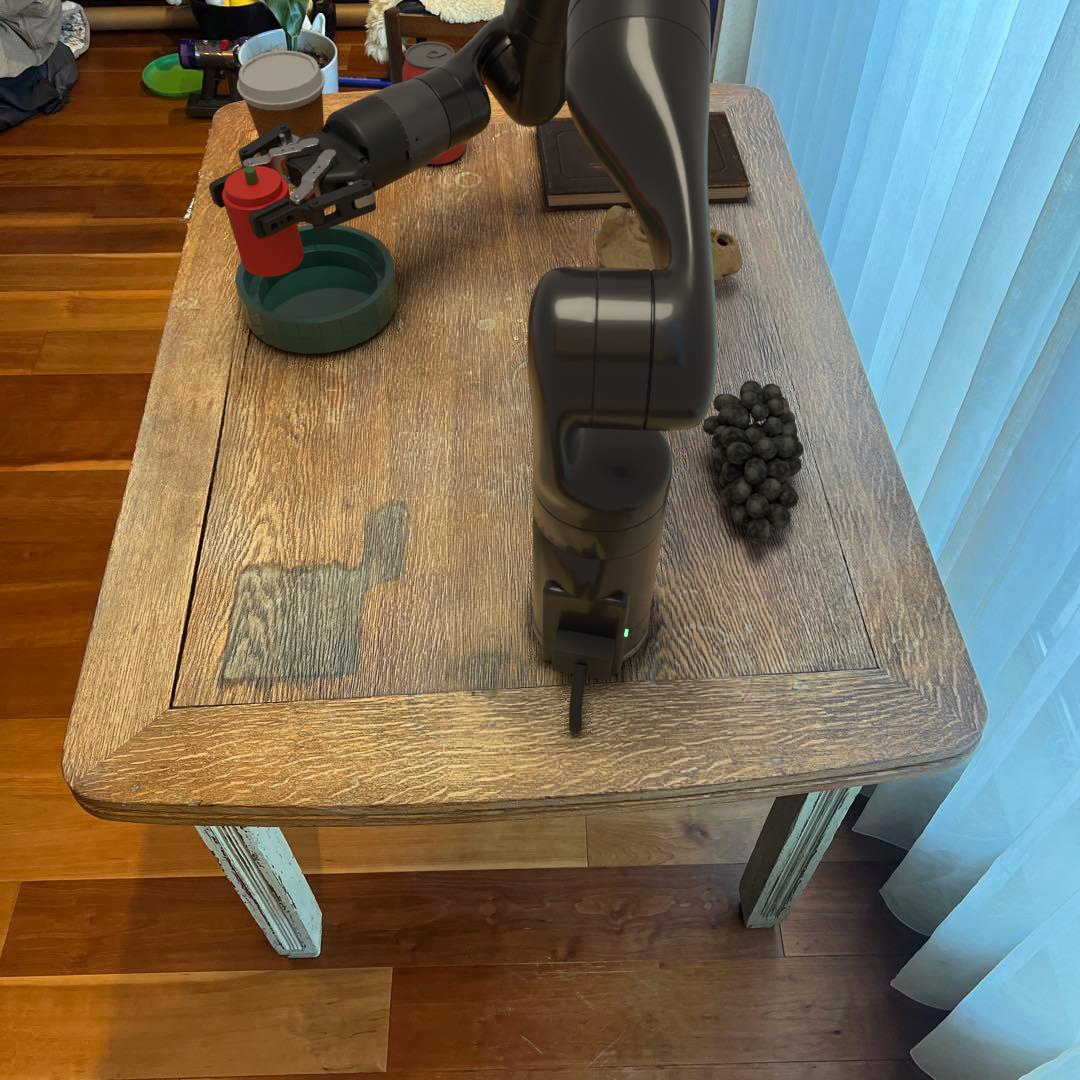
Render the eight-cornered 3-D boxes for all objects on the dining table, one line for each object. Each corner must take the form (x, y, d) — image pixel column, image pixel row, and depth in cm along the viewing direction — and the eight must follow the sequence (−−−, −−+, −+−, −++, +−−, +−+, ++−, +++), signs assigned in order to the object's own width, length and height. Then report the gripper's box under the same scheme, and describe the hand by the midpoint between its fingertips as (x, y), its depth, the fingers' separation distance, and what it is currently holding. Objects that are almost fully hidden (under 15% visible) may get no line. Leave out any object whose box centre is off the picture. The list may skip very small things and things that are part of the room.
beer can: (472, 160, 122) (467, 61, 112) (420, 172, 120) (410, 73, 111) (455, 132, 125) (448, 34, 116) (403, 143, 124) (392, 44, 114)
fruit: (801, 494, 78) (792, 357, 87) (694, 508, 81) (696, 373, 89) (814, 559, 85) (805, 425, 93) (715, 569, 87) (714, 438, 96)
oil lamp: (742, 311, 105) (756, 247, 99) (597, 313, 105) (601, 248, 98) (728, 246, 112) (740, 181, 105) (591, 247, 111) (595, 182, 105)
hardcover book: (747, 202, 117) (750, 184, 115) (546, 211, 115) (546, 193, 114) (721, 126, 126) (724, 108, 124) (536, 133, 125) (536, 116, 123)
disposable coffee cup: (327, 196, 117) (308, 96, 108) (247, 188, 118) (221, 89, 108) (349, 150, 123) (333, 51, 113) (273, 143, 124) (251, 45, 114)
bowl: (371, 368, 100) (365, 333, 96) (221, 345, 102) (210, 310, 98) (416, 270, 109) (412, 234, 105) (278, 250, 111) (269, 215, 107)
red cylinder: (272, 285, 91) (247, 196, 84) (229, 262, 93) (201, 173, 86) (316, 253, 93) (296, 164, 86) (274, 231, 95) (250, 143, 88)
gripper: (335, 67, 94) (175, 138, 87) (434, 128, 88) (270, 210, 81) (348, 141, 100) (200, 214, 93) (442, 204, 94) (290, 286, 87)
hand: (233, 212), depth 87 cm, fingers closed on red cylinder, 5 cm apart
